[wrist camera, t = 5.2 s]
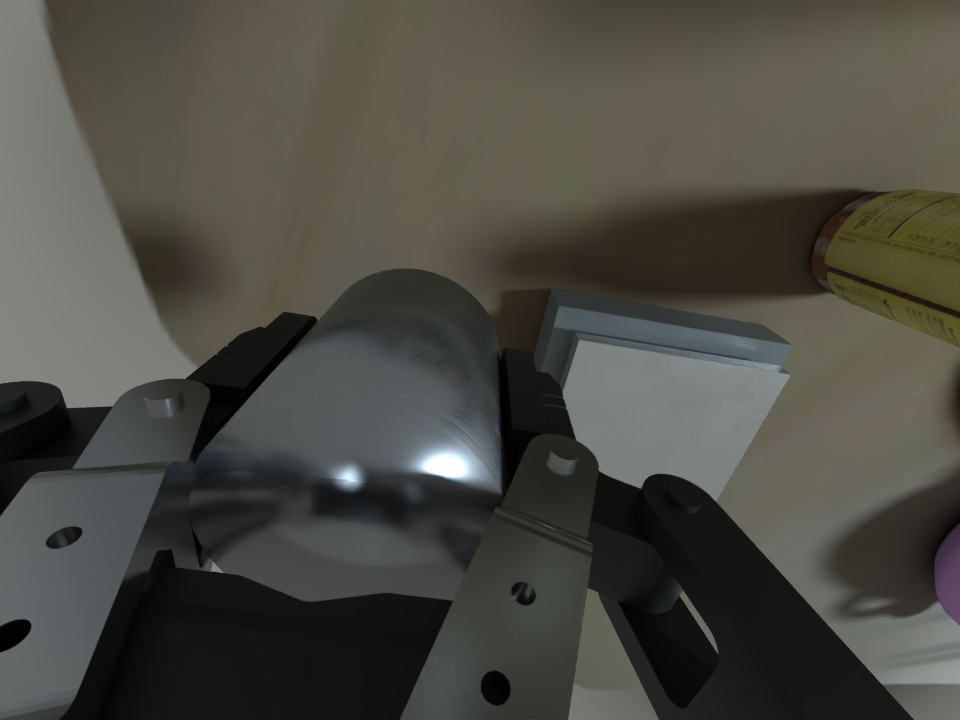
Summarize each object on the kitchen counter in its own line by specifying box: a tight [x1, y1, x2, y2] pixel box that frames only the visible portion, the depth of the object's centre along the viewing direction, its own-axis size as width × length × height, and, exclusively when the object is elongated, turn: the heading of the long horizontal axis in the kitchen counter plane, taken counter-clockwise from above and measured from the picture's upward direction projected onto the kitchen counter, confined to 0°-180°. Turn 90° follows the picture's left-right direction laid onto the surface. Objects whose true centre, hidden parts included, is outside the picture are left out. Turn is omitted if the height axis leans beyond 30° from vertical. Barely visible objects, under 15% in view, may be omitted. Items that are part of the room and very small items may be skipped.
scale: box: [533, 289, 793, 384], centre depth 30 cm, size 14×20×4 cm
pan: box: [560, 332, 791, 501], centre depth 26 cm, size 12×12×1 cm
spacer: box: [189, 269, 508, 602], centre depth 9 cm, size 5×5×6 cm
